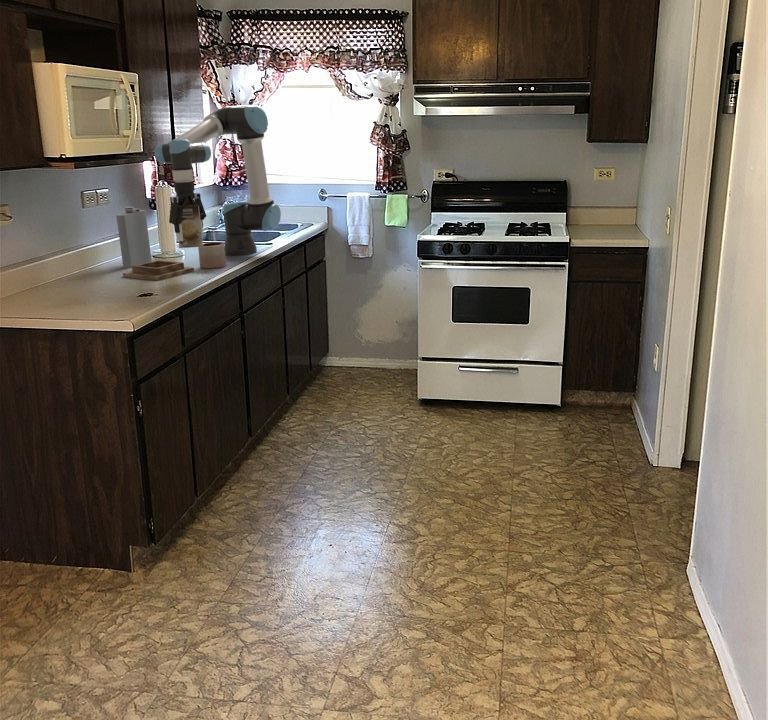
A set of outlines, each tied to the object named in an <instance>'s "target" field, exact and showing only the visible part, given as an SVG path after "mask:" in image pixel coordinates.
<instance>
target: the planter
mask: <svg viewBox="0 0 768 720" xmlns="http://www.w3.org/2000/svg"><path fill="white" fill-rule="evenodd" d="M224 245H225V242H222V241H221V242H220V241H213V242H212V241H211V242H210V241H209V242H203V246H202V247H197V249H198V257H199V258H198V259H199V267H200V268H202V269H205V270H214V269H213V268H215V269H220V267H221V268H224V267H225V266H227V258H226V254H225V249H224Z"/></svg>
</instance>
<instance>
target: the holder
mask: <svg viewBox="0 0 768 720" xmlns="http://www.w3.org/2000/svg"><path fill="white" fill-rule="evenodd" d="M193 272H195V268H194V267H191V266H190V267H189V266H185V263H184V262H180V261H170V260H160V259H159V260H158V259H157V260H154V261H151V262H147V263H143V264H139V265H134V266H132V268H131V270H130V271H127V272H126V271H125V272H122V277H123V278H129V279H140V280H146V281H147V280H149V281H155V282H158V281H162V280H165V279H169V278H170V279H171V278H174V277H178V276H181V275H185V274H189V273H193Z"/></svg>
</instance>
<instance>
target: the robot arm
mask: <svg viewBox="0 0 768 720" xmlns="http://www.w3.org/2000/svg"><path fill="white" fill-rule="evenodd" d="M268 126H269V121H268V116H267V113H266V112H265V110H264V109H263V108H262V107H261V106H259V105H255V104H243V105H228V106H224V107H222V108H219V109H216V110H215V111H214V112H211V113H210V114H208V115H207V116H205V117H204V118H203V121H202V122H200V123H199V124H197V125H195V126H193V127H192V128H191V129H189V130H187V131H186V132H184V133H183V134H181V135H180V136H177V137H176V138H174V139H171V140H169V142H168V143H160V144H157V145H156V147H155V148H154V155H155V159H156V161H157V162H159V163H160V164H166V165H167V164H171V171H172V172H171V173H172V178H173V181H174V182H173V187H174V189H173V190H174V192H175V193H176V196H171V197H169V199H170V210H169V219H168V223H169V224H172V225H173V227H174V233H175V235H176V241H177V242H179V241H183V233H182V225H181V224H179V223H180V220H181V217H182V213H183V208H184V207H185V206H187V205H196V204H199V211H200V221H201V230H202V238H204V222H203V221H204V220H205V219H206V218H207V214H206V211H205V207H204V204H203V201H202V198H201V193H198V192H194V191H195V182H194V181H193V180H194V174H193V173H194V172H193V164H199V163H200V164H201V163H202V164H203V163H205V162H207V161H209V160H210V159H211V157H212V149H211V147H210V146H209V144H208V143H207V142H209V141H211V139H213V138H214V139H215V138H219V137H221V136H224V135H236V139H237V141H238V142H240V143H241V148H242V155H243V162H244V167H245V168H244V169H245V175H246V180H247V186H248V192H249V193H248V194H249V199H248V200H241V201H235V202H229V203H226V204H224V205H223V220H224V231H225V240H224V249H225V256H226V255H227V256H243V255H244V256H245V255H250V254H255V253H257V251H258V249H257V244H256V243H255V240H254V237H253V234H252V231H263V232H266V231H267V232H268V231H274V230H276V228H277V227H279V224H280V222H281V219H282V218H281V216H282V210H281V208H280V206H279V205H278V204H276V203H274V198H273V197H272V196H270V191H269V184H268V177H267V171H266V164H265V163H266V162H265V157H264V151H263V143H262V140H263V139H264V138H265V133H266V132H267V130H268ZM177 207H180V208H179V210H178V211H177Z"/></svg>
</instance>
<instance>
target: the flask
mask: <svg viewBox="0 0 768 720" xmlns="http://www.w3.org/2000/svg"><path fill="white" fill-rule="evenodd" d="M124 210H125V212H124V213H123V212H122V213H118V214H116V215H115V216H116V223H117V231H118V238H119V246H120V252H121V253H120V254H121V260H122V267H123V269H132V266H134V265H139V264H143V263H148V262H152V253H151V244H150V236H149V229H148V221H147V215H146V210H145V209H142V210H141V208H135V206H125V207H124Z"/></svg>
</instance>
